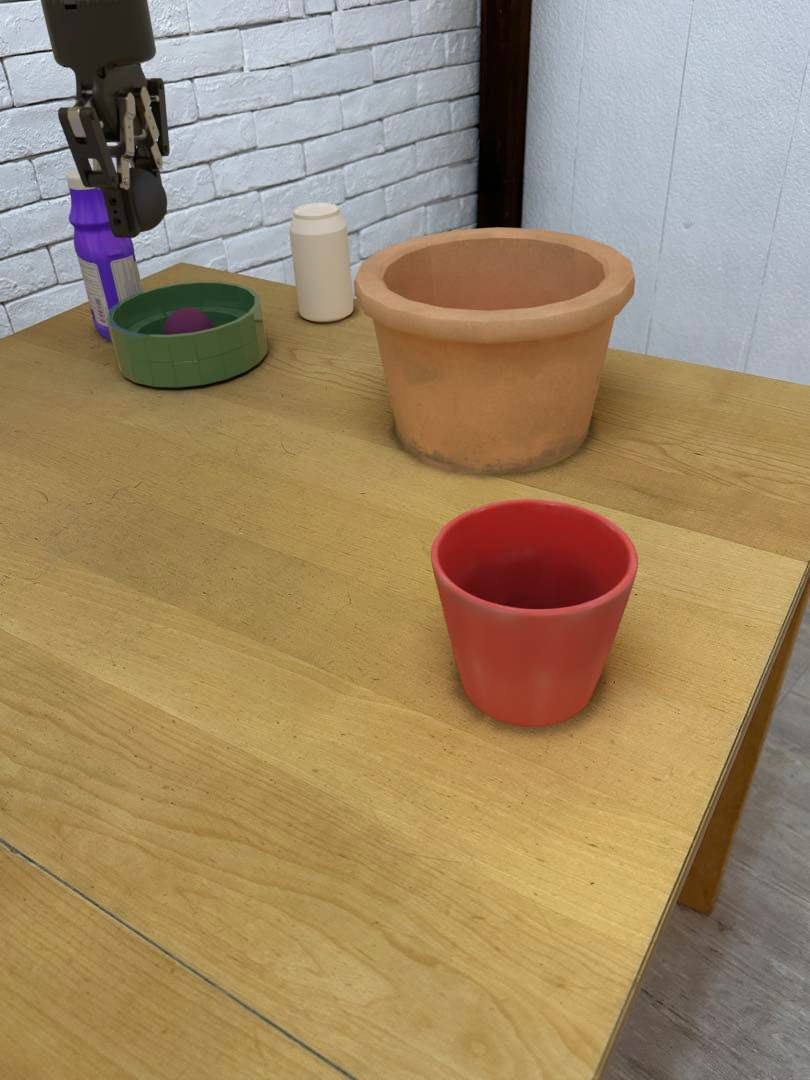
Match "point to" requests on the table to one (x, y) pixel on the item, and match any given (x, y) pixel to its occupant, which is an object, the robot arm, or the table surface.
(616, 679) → the table surface
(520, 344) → the pottery
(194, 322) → the plum ball
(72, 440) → the table surface
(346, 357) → the table surface
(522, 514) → the flower pot
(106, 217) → the bottle
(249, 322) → the green bowl
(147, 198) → the grey ball
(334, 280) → the beverage can
